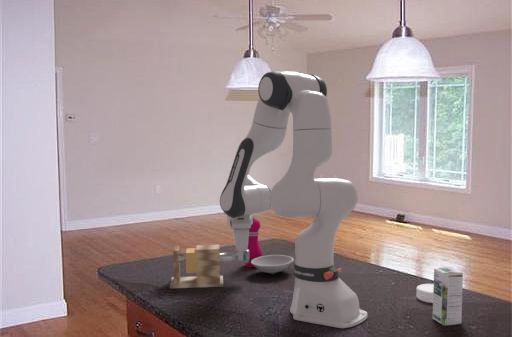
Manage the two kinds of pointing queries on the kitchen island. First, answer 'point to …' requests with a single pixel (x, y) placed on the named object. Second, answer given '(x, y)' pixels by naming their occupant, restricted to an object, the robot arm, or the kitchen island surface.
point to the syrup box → (447, 296)
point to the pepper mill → (253, 242)
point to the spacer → (191, 260)
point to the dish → (272, 263)
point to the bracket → (199, 268)
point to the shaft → (224, 257)
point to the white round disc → (425, 292)
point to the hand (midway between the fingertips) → (240, 258)
